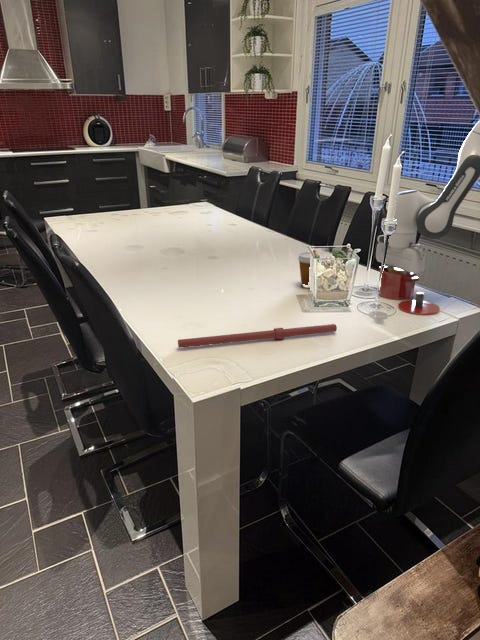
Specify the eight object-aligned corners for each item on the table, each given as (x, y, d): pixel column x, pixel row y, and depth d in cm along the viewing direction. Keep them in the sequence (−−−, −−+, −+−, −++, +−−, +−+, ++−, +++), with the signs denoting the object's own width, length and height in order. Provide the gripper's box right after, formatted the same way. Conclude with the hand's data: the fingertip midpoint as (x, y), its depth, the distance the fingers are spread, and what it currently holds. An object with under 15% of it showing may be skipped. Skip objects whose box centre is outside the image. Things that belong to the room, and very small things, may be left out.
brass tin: (397, 282, 164) (399, 266, 162) (406, 285, 160) (408, 269, 158) (387, 283, 162) (389, 268, 160) (396, 287, 159) (397, 271, 157)
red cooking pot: (392, 287, 172) (394, 262, 169) (426, 300, 158) (430, 273, 154) (366, 291, 168) (368, 266, 165) (399, 306, 154) (402, 278, 150)
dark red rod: (333, 330, 136) (333, 320, 134) (337, 334, 133) (338, 324, 132) (178, 346, 127) (177, 336, 126) (179, 351, 124) (178, 340, 123)
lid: (418, 301, 158) (421, 285, 156) (448, 313, 147) (450, 295, 145) (389, 307, 153) (391, 290, 151) (417, 319, 142) (419, 302, 140)
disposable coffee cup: (298, 290, 172) (299, 258, 167) (296, 282, 181) (296, 252, 176) (324, 289, 172) (326, 257, 167) (320, 282, 180) (322, 251, 176)
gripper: (432, 245, 148) (426, 286, 153) (388, 234, 166) (385, 271, 171) (417, 247, 146) (411, 289, 151) (374, 235, 163) (371, 274, 168)
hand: (397, 279), depth 161 cm, fingers closed on brass tin, 4 cm apart
